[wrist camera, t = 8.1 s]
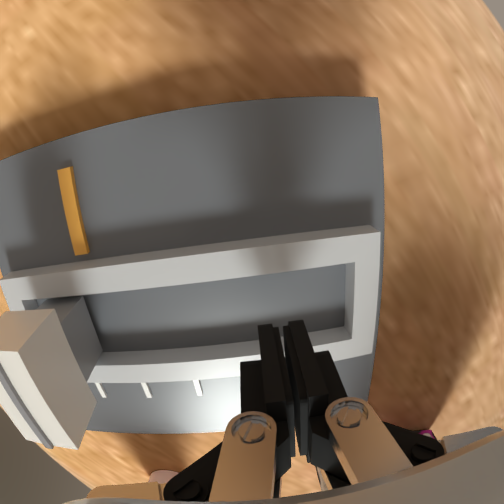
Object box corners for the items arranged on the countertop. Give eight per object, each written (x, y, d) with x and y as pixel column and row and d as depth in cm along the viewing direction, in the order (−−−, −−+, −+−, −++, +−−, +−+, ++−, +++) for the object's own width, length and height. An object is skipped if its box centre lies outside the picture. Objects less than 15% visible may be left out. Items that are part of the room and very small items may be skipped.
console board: (360, 102, 14) (390, 94, 11) (356, 387, 20) (372, 419, 17) (-1, 165, 13) (-36, 173, 10) (85, 410, 19) (72, 440, 16)
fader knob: (82, 278, 13) (14, 355, 7) (113, 363, 15) (76, 453, 9) (36, 283, 13) (-35, 351, 7) (68, 363, 15) (25, 443, 9)
